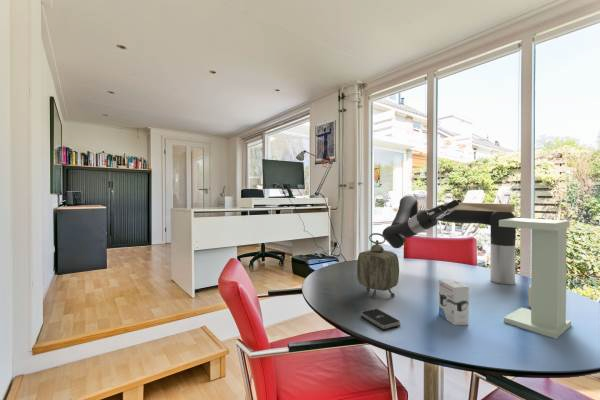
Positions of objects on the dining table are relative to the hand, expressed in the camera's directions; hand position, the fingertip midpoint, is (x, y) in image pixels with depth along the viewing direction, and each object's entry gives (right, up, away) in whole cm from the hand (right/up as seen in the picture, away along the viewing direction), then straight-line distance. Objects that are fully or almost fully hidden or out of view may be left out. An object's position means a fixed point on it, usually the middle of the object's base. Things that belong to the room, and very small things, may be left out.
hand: (459, 201), depth 106 cm
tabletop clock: (-30, -38, +6) cm, 48 cm away
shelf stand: (+12, -38, -18) cm, 44 cm away
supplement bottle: (+24, -38, -7) cm, 45 cm away
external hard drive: (-35, -38, -17) cm, 55 cm away
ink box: (-11, -38, -16) cm, 42 cm away
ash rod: (+4, -3, -5) cm, 7 cm away
